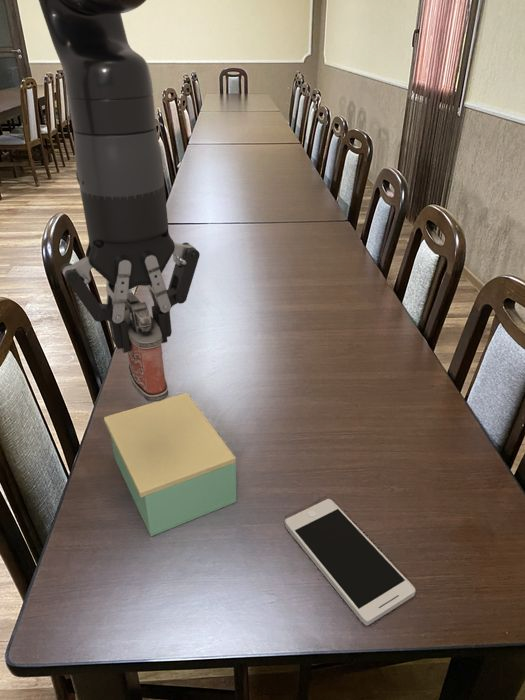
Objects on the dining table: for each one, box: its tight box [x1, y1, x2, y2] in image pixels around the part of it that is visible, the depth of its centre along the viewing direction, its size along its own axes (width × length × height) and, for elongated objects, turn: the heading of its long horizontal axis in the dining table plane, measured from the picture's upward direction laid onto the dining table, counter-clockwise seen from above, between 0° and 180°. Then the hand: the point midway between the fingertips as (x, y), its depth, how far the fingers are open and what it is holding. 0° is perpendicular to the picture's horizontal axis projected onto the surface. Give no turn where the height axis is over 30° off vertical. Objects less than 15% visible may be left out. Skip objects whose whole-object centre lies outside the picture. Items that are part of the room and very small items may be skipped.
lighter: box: [124, 292, 169, 403], centre depth 58 cm, size 8×3×10 cm, turn 29°
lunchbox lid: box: [103, 392, 237, 497], centre depth 69 cm, size 12×16×1 cm
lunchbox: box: [110, 436, 237, 537], centre depth 71 cm, size 12×16×7 cm
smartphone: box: [284, 498, 416, 627], centre depth 62 cm, size 7×16×1 cm, turn 31°
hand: (143, 343), depth 58 cm, fingers closed on lighter, 3 cm apart
